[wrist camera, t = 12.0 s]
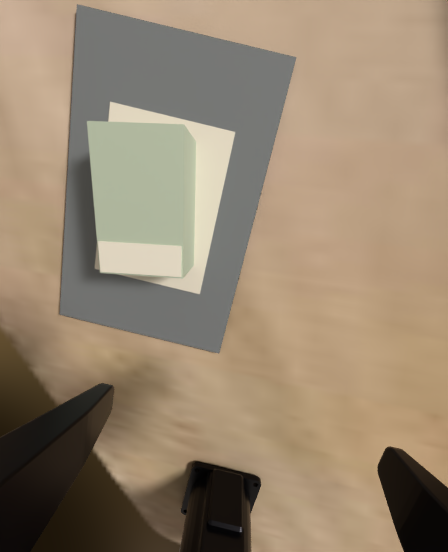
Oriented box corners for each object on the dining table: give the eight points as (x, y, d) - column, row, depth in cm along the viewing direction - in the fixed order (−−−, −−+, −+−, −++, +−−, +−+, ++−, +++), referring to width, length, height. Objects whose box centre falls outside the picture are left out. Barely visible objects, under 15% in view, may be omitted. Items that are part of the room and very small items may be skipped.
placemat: (219, 350, 20) (218, 354, 20) (63, 312, 20) (58, 315, 20) (295, 61, 15) (296, 56, 14) (81, 9, 15) (75, 2, 14)
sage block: (196, 141, 16) (183, 123, 12) (193, 265, 18) (182, 278, 15) (119, 138, 16) (85, 120, 13) (125, 260, 18) (98, 273, 15)
